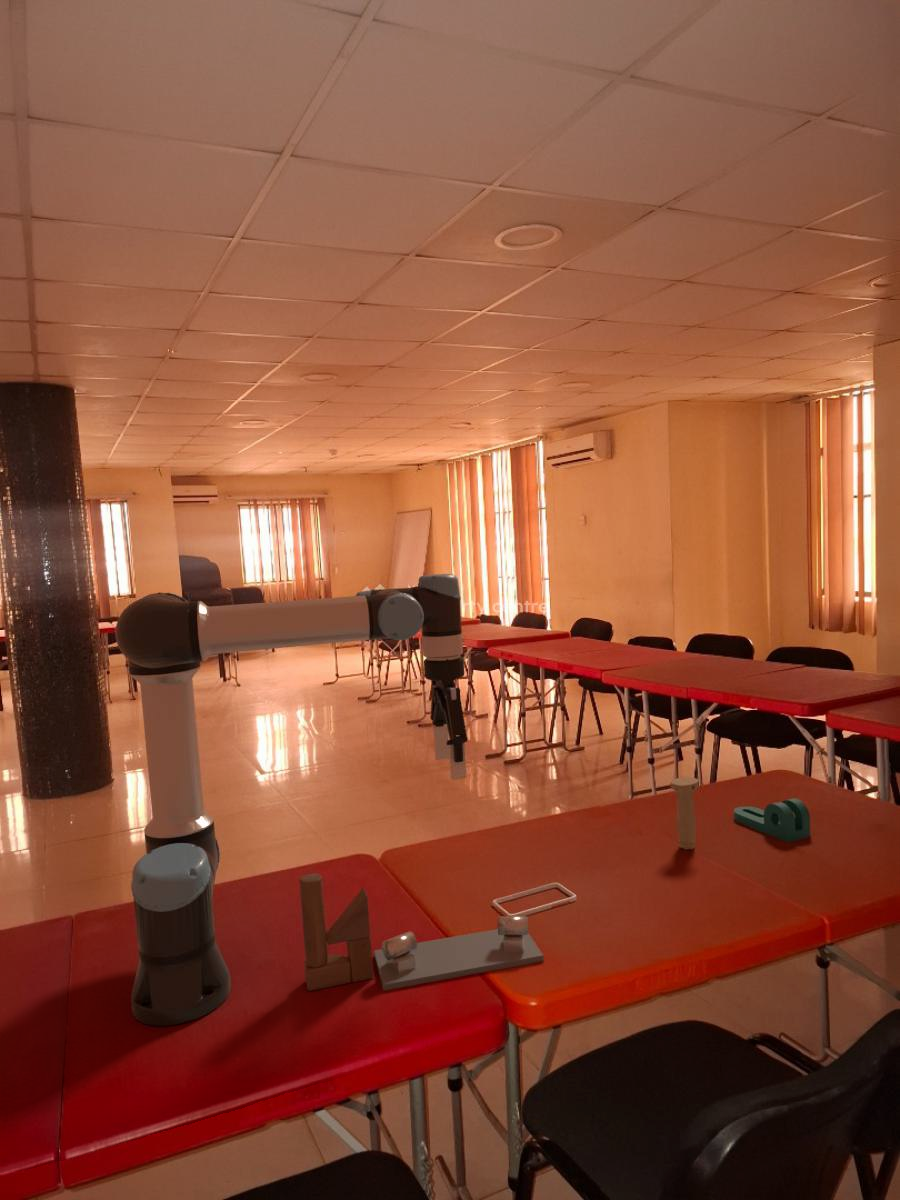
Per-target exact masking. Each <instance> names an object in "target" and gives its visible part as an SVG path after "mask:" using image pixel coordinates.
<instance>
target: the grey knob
mask: <svg viewBox="0 0 900 1200" xmlns="http://www.w3.org/2000/svg"><path fill="white" fill-rule="evenodd" d="M497 929H498V935H504V940H503V943H504V952H523V944H524V935H528V933H529V919H528V915H526V916H507V915H506V916H503V915H502V916H497Z"/></svg>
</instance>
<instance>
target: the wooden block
mask: <svg viewBox="0 0 900 1200" xmlns="http://www.w3.org/2000/svg"><path fill="white" fill-rule="evenodd" d="M298 883H299V892H300V893H299V894H300V906H301V917H302V930H303V943H304V944H303V947H304V959H305V960H304V962H303V964H304V974H305V975H304V976H305V977H304V978H305V983H306V984H305V985H306V990H307V991H308V992H312V991H316V990H321V989H326V988H331V987H336V986H340V985H346V984H350V983H357V982H361V981H367V980H370V979H371V980H372V979H373V978H374V969H373V967H374V965H373V958H372V957H373V956H372V953H373V952H372V942H371V941H372V939H371V930H370V929H371V928H370V927H371V925H370V917H369V916H370V915H369V911H370V910H369V901H368V899H369V898H368V897H369V896H368V893H367V892H366V889H365V887H362V888H361V889H360V891H359V892H358V893H357V895H355V896H354V898H353V899H352V900H351V902H350V903H349V904H348V905H347V907H346V908H345V909H344V910H343V912H342V913H341V914H340V915H339V916H338V918H337V919H336V920H335V922H334V923H333V924H332V925H331V926H330V928H329V929H328V930H326V915H325V902H324V890H323V877H322V876H321V875H320V874H318V873H309V874H305V875H303V876H301V877H300V878H299V882H298ZM339 943H346V946H347V947H346V949H347V956H345V955H341V954H330V955H328V954H329V953H328V946H329V945H334V944H339Z"/></svg>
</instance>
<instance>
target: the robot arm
mask: <svg viewBox="0 0 900 1200" xmlns="http://www.w3.org/2000/svg"><path fill="white" fill-rule="evenodd" d="M461 599H462V598H461V592H460V584H459V578H458V577H457V575H455V574H453V573H436V574H428V575H427V574H426V575H424V574H423V575H421V576H419V578H418V584H417V586H416V585H415V586H411V587H404V588H403V587H401V588H400V587H399V588H381V589H369V590H363V591H358V592H356V594H355V596H354V595H352V596H351V595H350V596H338V597H325V598H322V597H321V598H311V599H309V598H307V599H299V600H297V599H296V600H285V601H283V600H282V601H270V602H268V601H267V602H258V603H257V602H256V603H255V602H254V603H243V604H241V603H240V604H227V605H226V604H225V605H213V606H209V605H207V604H205V603H204V602H203V601H202V600H195V601H188V600H187V599H186V598H184V597H182V596H180V595H178V594H176V593H170V592H156V593H149V594H148V595H146V596H143V597H142V598H139V599H137V600H135V601H133V602H132V603H130V604H129V605H128V606H127V607H125V608H124V609H123V611H122V612H121V614H120V615H119V617H118V619H117V622H116V626H115V632H114V633H115V640H116V644H117V646H118V649H119V650H120V652H121V653H122V654H123V656H124V657H125V658H126V659H127V660H128V661H127V662H128V670H129V676H130V677H131V678H133V679H134V680H135V681H136V682H137V683H139V687H140V688H139V689H140V699H141V705H142V708H141V709H142V718H143V719H142V720H143V730H144V740H145V750H146V761H147V763H146V764H147V772H148V782H149V784H148V785H149V793H150V794H149V795H150V802H151V803H150V805H151V816H152V818H151V820H149V822H148V824H147V825H146V826H145V827H144V829H143V831H144V842H145V852H146V853H145V854H144V855H143V856H141V857H140V858H139V859H138V860H137V862H136V863H135V865H134V867H133V869H132V875H131V877H132V878H131V885H130V887H131V892H132V897H133V906H134V918H135V926H136V927H135V928H136V935H137V947H138V958H139V962H138V964H137V965H138V966H137V970H136V974H135V978H134V982H133V985H132V990H131V997H130V1000H131V1003H130V1004H131V1012H132V1015H133V1017H134V1019H136V1020H137V1021H138V1022H140V1023H142V1024H145V1025H149V1026H157V1027H163V1026H164V1027H165V1026H174V1025H179V1024H183V1023H187V1022H191V1021H194V1020H196V1019H199V1018H202V1017H204V1016H205V1015H207V1014H209V1013H211V1012H213V1011H214V1010H215V1009H217V1008H218V1007H220V1006H221V1005H222V1004H223V1003H224V1002H225V1001H226V1000H227V998H228V996H229V995H230V993H231V988H232V987H231V986H232V985H231V984H232V983H231V974H230V971H229V968H228V966H227V964H226V961H225V960H224V958H223V955H222V953H221V951H220V949H219V947H218V944H217V941H216V930H215V917H214V909H213V908H214V906H213V894H214V893H213V892H214V887H215V880H216V875H217V870H218V867H219V863H220V859H221V858H220V856H221V852H220V845H219V843H218V840H217V838H216V831H215V821H214V820H215V818H214V816H213V815H212V814H211V813H209V812H208V811H206V810H205V809H204V795H203V786H202V785H203V783H202V773H201V772H202V771H201V762H200V761H201V760H200V751H199V749H200V748H199V738H198V728H197V716H196V715H197V714H196V705H195V704H196V703H195V695H194V693H195V692H194V682H193V678H194V676H195V675H196V674H197V673H198V671H200V669H201V662H206V661H207V660H208V659H209V658H210V656H212V655H215V654H217V655H218V654H227V653H239V652H250V651H260V650H262V651H263V650H270V649H271V650H272V649H281V648H282V649H283V648H294V647H295V648H296V647H303V646H314V645H316V646H317V645H326V644H327V645H328V644H338V643H348V642H349V643H351V642H360V641H370V640H371V641H377V640H378V641H379V640H387V639H388V640H389V639H390V640H394V641H406V640H410V639H411V638H413V637H414V636H416V635H417V634H418V633H419V632H420V631H421V645H422V655H423V657H424V658H425V659H424V660H423V671H424V672H423V673H424V678H425V679H426V680H428V681H430V682H431V698H430V700H431V703H430V721H432V725H433V738H434V739H433V740H434V741H433V742H434V757H435V761H438V760H440V761H441V760H447V759H448V760H449V771H450V780H451V781H454V780H455V781H456V780H462V779H467V766H466V752H465V751H466V749H465V747H466V745H465V743H467V742H468V736H467V729H466V724H465V723H466V722H465V718H464V717H465V716H464V710H463V705H462V699H461V689H460V686H459V687H456V685H455V680H457V679H461V678H463V677H464V676H465V659H464V657H463V656H461V655H462V654H463V653H464V648H463V646H464V644H463V643H465V642H466V637H463V633H462V632H463V631H462V611H461V608H462V607H461Z"/></svg>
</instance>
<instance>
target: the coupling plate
mask: <svg viewBox="0 0 900 1200" xmlns="http://www.w3.org/2000/svg"><path fill="white" fill-rule="evenodd" d="M503 940H504V935H498V928H495V929H490V930H483V931H479V932H471V933H467V934H460V935H455V936H450V937H443V938H438V939H437V938H436V939H432V940H426V941H421V942H417V949H416V950H414V951H411V952H410V953H412V954H413V955H414V956H415V963H416V968H415V969H412V970H410V971H407V972H405V973H402V974H400V975H398V974H397V973H396V972H395V971H394V970H393V969H392V968H391V967H390V966H388V965H387V964H386V958H385V956H384V954H383V951H382V948H380V949H376V950H373V951H374V952H373V953H374V959H375V964H376V967H377V971H378V976H379V978H380V982H381V988H382V990H383V992H384V991H388V990H389V991H390V990H394V989H400V988H405V987H406V988H407V987H412V986H416V985H417V986H418V985H422V984H427V983H432V982H437V981H443V980H448V979H449V980H450V979H454V978H460V977H466V976H471V975H475V974H483V973H487V972H491V971H497V970H498V971H499V970H502V969H509V968H513V967H519V966H524V965H529V964H535V963H541V962H544V961H545V960H544V959H545V958H544V954H543V953H542V951H541V950H540V948H539V947H538V945H537V943H536V942H535V940H534V939H533V938H532V936H531V935H530V933H529V932H528V935H524V944H523V952H504V943H503Z"/></svg>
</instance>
